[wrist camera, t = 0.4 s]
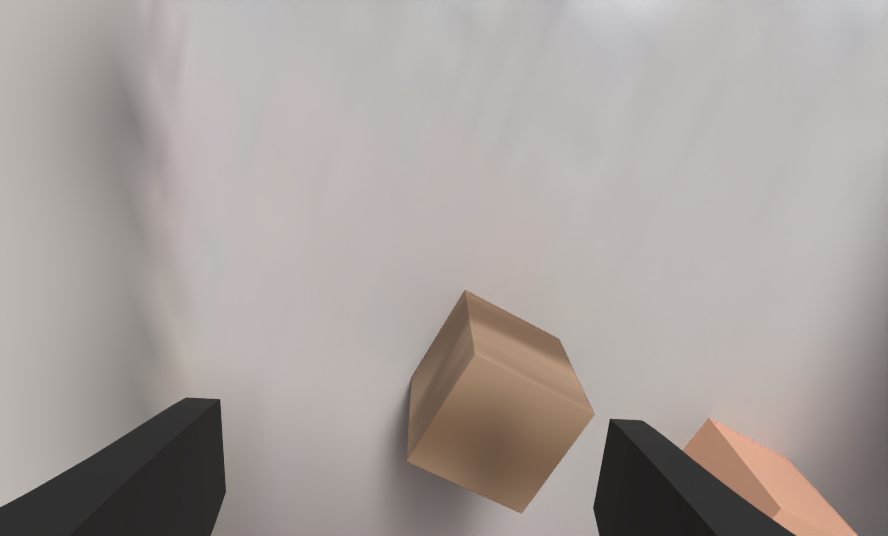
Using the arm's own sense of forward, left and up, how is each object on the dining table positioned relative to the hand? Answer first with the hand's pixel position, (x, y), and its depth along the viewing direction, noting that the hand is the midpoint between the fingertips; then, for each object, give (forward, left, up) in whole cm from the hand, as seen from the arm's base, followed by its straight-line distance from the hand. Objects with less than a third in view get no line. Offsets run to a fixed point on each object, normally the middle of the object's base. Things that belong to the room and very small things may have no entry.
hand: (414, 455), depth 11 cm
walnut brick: (-2, +4, -10) cm, 11 cm away
